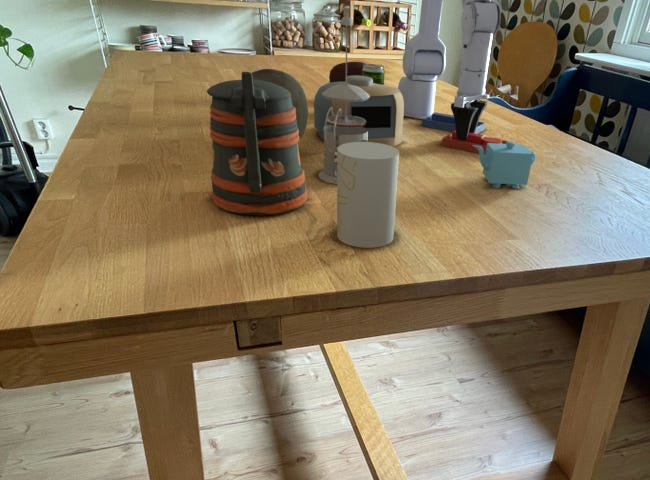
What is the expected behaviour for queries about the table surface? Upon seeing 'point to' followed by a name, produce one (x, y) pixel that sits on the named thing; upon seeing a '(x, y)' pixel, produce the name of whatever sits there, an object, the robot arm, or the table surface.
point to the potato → (340, 71)
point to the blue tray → (448, 125)
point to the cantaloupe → (293, 87)
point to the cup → (366, 193)
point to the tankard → (255, 148)
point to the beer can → (374, 73)
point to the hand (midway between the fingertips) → (465, 137)
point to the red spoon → (477, 139)
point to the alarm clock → (366, 110)
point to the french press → (341, 121)
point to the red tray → (462, 144)
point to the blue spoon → (443, 118)
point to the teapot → (506, 163)
